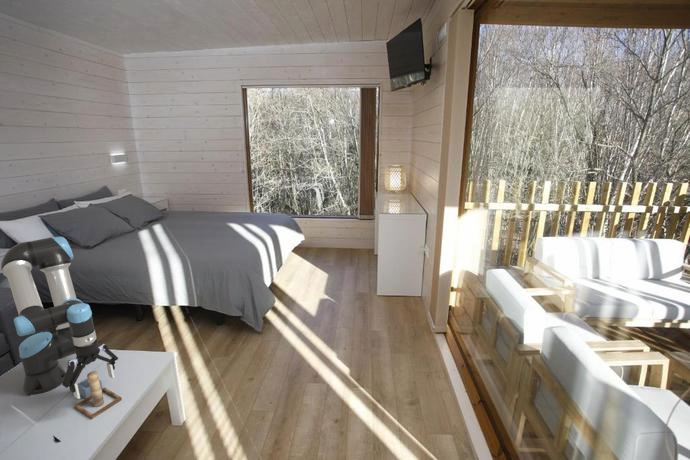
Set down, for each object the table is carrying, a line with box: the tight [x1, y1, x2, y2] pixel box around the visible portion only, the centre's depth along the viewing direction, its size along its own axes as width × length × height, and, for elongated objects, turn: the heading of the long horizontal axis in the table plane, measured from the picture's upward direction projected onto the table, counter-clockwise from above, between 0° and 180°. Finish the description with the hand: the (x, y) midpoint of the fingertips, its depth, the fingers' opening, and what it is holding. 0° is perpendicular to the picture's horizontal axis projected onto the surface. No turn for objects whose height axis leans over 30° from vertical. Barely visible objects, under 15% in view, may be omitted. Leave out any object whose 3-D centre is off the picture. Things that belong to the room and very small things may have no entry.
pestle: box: [86, 370, 105, 408], centre depth 154 cm, size 4×4×15 cm
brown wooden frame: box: [74, 387, 123, 420], centre depth 156 cm, size 12×12×2 cm
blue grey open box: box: [76, 378, 104, 399], centre depth 162 cm, size 7×7×5 cm
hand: (95, 386), depth 154 cm, fingers open, 13 cm apart
